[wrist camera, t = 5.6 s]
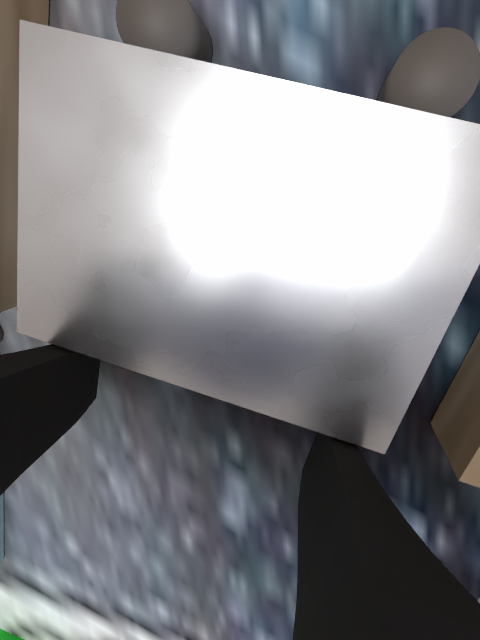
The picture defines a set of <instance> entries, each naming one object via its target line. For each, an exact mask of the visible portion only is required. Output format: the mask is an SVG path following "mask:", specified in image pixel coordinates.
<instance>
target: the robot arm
mask: <svg viewBox="0 0 480 640" xmlns="http://www.w3.org/2000/svg"><path fill="white" fill-rule="evenodd" d="M99 367H100V360H99V359H96V358H93V357H90V356H87V355H84V354H81V353H78V352H75V351H72V350H69V349H66V348H63V347H60V346H57V345H54V344H51V345H47V346H42V347H37V348H33V349H28V350H24V351H19V352H14V353H9V354H3V355H0V496H1V495H2V494H3V492H4V491H5V490H6V489H7V488H8V487H9V486H10V485H11V484H12V483H13V482H14V481H15V480H16V479H17V478H18V477H19V476H20V475H21V474H22V473H23V472H24V471H25V470H26V469H27V468H28V467H30V466H31V465H32V464H33V463H34V462H35V461H36V460H37V459H38V458H39V457H40V456H41V455H42V454H43V453H44V452H46V451H47V450H48V449H49V448H50V447H51V446H52V445H53V444H54V443H55V442H56V441H57V440H58V439H59V438H60V437H62V436H63V435H64V434H65V433H66V432H67V431H68V430H69V429H70V428H71V427H72V426H73V425H74V424H75V423H76V422H77V421H78V420H79V418H80V417H81V416H82V415H83V414H84V413H85V411H86V410H87V409H88V407H89V406H90V405H91V404H92V402H93V401H94V400H95V399H96V394H97V385H98V376H99ZM293 640H480V598H479V599H478V600H476V599H475V598H474V597H473V596H472V595H471V594H470V593H469V592H468V591H467V590H466V589H465V588H464V587H463V586H462V585H461V583H460V582H459V581H458V580H457V579H456V578H455V577H454V576H453V575H452V574H451V573H450V572H449V570H448V569H447V568H446V567H445V566H444V565H443V564H442V563H441V562H440V561H439V560H438V558H437V557H436V556H435V555H434V554H433V553H432V552H431V550H430V549H429V548H428V547H427V546H426V544H425V543H424V542H423V541H422V540H421V538H420V537H419V536H418V535H417V533H416V532H415V531H414V530H413V528H412V527H411V526H410V525H409V524H408V522H407V521H406V520H405V518H404V517H403V516H402V514H401V513H400V512H399V510H398V509H397V508H396V506H395V505H394V503H393V502H392V500H391V499H390V498H389V496H388V495H387V493H386V492H385V490H384V489H383V487H382V486H381V484H380V483H379V481H378V480H377V478H376V477H375V475H374V474H373V472H372V470H371V469H370V467H369V466H368V464H367V462H366V461H365V459H364V457H363V456H362V454H361V452H360V450H359V449H358V447H357V445H355V444H352V443H349V442H346V441H343V440H340V439H337V438H334V437H331V436H328V435H325V434H322V433H319V432H317V435H316V437H315V440H314V442H313V445H312V447H311V450H310V452H309V455H308V457H307V460H306V462H305V465H304V467H303V471H302V478H301V485H300V493H299V501H298V583H297V603H296V613H295V623H294V633H293Z"/></svg>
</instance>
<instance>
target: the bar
mask: <svg viewBox="0 0 480 640" xmlns="http://www.w3.org/2000/svg"><path fill="white" fill-rule="evenodd" d="M3 559H4V492H3V494H2V495H1V496H0V562H1V561H2V560H3Z"/></svg>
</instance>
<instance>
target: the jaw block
mask: <svg viewBox="0 0 480 640" xmlns="http://www.w3.org/2000/svg"><path fill="white" fill-rule="evenodd" d="M479 264H480V124H476V123H472V122H467V121H463V120H458V119H454V118H450V117H445V116H441V115H437V114H432V113H428V112H423V111H419V110H415V109H410V108H406V107H401V106H397V105H393V104H388V103H384V102H379V101H375V100H371V99H366V98H362V97H357V96H353V95H349V94H344V93H340V92H336V91H331V90H327V89H322V88H318V87H314V86H309V85H305V84H300V83H296V82H292V81H287V80H283V79H278V78H274V77H270V76H265V75H261V74H257V73H252V72H248V71H243V70H239V69H235V68H230V67H226V66H221V65H217V64H213V63H208V62H204V61H199V60H195V59H191V58H186V57H182V56H178V55H173V54H169V53H164V52H160V51H156V50H151V49H147V48H142V47H138V46H134V45H129V44H125V43H120V42H116V41H112V40H107V39H103V38H98V37H94V36H90V35H85V34H81V33H77V32H72V31H68V30H63V29H59V28H55V27H50V26H46V25H41V24H37V23H33V22H28V21H24V20H20V32H19V139H18V245H17V332H18V333H21V334H24V335H27V336H30V337H33V338H36V339H39V340H42V341H45V342H48V343H51V344H54V345H57V346H60V347H63V348H66V349H69V350H72V351H75V352H78V353H81V354H84V355H87V356H90V357H93V358H96V359H99V360H102V361H105V362H108V363H111V364H114V365H117V366H120V367H123V368H126V369H129V370H132V371H135V372H138V373H141V374H144V375H147V376H150V377H153V378H156V379H159V380H162V381H165V382H168V383H171V384H174V385H177V386H180V387H183V388H186V389H189V390H192V391H195V392H198V393H201V394H204V395H207V396H210V397H213V398H216V399H219V400H222V401H225V402H228V403H231V404H234V405H237V406H240V407H243V408H246V409H249V410H252V411H255V412H258V413H262V414H265V415H268V416H271V417H274V418H277V419H280V420H283V421H286V422H289V423H292V424H295V425H298V426H301V427H304V428H307V429H310V430H313V431H316V432H319V433H322V434H325V435H328V436H331V437H334V438H337V439H340V440H343V441H346V442H349V443H352V444H355V445H358V446H361V447H364V448H367V449H370V450H373V451H376V452H379V453H382V454H385V453H386V451H387V449H388V447H389V445H390V443H391V441H392V439H393V437H394V435H395V433H396V431H397V429H398V426H399V424H400V422H401V420H402V418H403V416H404V414H405V412H406V410H407V408H408V406H409V404H410V402H411V400H412V398H413V396H414V394H415V392H416V390H417V388H418V386H419V384H420V382H421V380H422V378H423V376H424V374H425V372H426V370H427V368H428V366H429V364H430V362H431V360H432V358H433V356H434V354H435V352H436V350H437V348H438V346H439V344H440V342H441V340H442V338H443V336H444V334H445V332H446V330H447V328H448V326H449V324H450V322H451V320H452V318H453V316H454V314H455V312H456V310H457V308H458V306H459V304H460V302H461V300H462V298H463V296H464V294H465V292H466V290H467V288H468V286H469V284H470V282H471V280H472V278H473V276H474V274H475V272H476V270H477V268H478V266H479Z"/></svg>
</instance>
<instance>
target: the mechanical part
mask: <svg viewBox="0 0 480 640" xmlns="http://www.w3.org/2000/svg"><path fill="white" fill-rule="evenodd" d="M0 640H24V639H22V638H19V637H17V636H15V635H13V634H10V633H8V632H6V631H3V630H1V629H0Z"/></svg>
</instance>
